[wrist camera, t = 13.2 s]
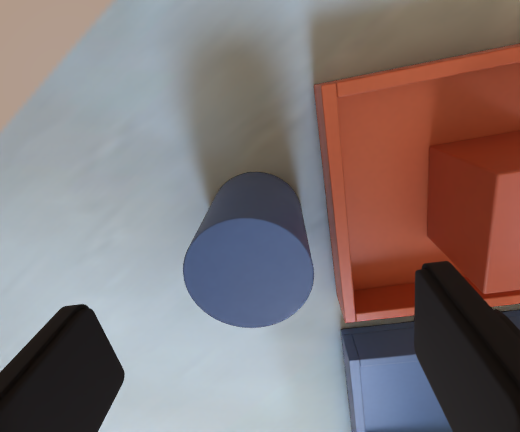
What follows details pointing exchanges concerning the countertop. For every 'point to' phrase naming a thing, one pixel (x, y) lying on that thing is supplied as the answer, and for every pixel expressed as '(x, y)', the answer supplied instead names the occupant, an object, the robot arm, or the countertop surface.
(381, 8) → the countertop surface
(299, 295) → the blue cylinder
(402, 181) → the terracotta tray
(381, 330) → the blue tray
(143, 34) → the countertop surface
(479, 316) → the robot arm
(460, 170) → the block
